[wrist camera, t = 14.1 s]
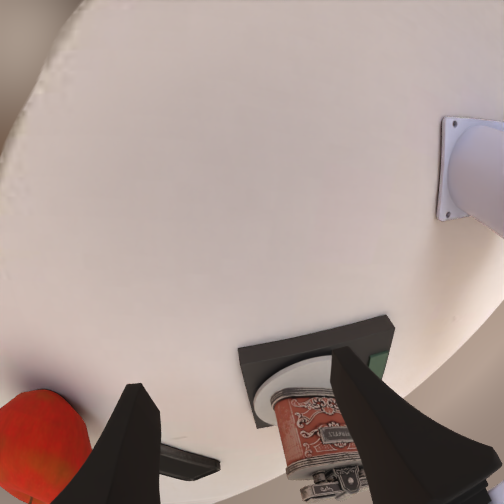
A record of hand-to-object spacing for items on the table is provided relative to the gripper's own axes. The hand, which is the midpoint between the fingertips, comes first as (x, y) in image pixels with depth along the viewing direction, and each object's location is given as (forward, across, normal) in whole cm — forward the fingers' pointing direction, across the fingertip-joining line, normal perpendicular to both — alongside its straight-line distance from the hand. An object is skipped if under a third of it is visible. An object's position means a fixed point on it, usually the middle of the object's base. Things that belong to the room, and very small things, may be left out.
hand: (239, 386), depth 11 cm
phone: (+11, +14, +28) cm, 33 cm away
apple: (+11, +22, +14) cm, 28 cm away
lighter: (+8, -5, +14) cm, 17 cm away
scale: (+10, -6, +14) cm, 19 cm away
